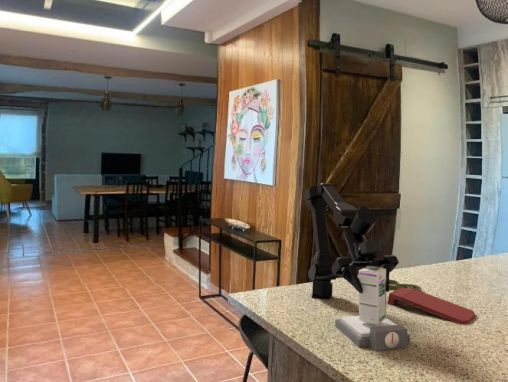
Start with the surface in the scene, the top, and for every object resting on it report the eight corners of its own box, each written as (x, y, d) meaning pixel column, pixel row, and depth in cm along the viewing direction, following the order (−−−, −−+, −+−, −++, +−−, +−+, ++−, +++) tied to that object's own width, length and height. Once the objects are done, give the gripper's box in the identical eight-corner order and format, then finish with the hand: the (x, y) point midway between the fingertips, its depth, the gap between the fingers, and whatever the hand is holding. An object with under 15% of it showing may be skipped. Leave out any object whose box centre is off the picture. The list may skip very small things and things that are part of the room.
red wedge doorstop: (474, 326, 136) (399, 297, 152) (477, 312, 135) (401, 284, 151) (462, 337, 127) (384, 305, 143) (466, 322, 126) (387, 291, 142)
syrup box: (378, 325, 114) (379, 272, 113) (358, 320, 118) (358, 269, 117) (386, 318, 119) (387, 268, 117) (366, 314, 122) (366, 264, 121)
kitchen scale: (335, 326, 123) (335, 309, 123) (381, 322, 127) (382, 306, 127) (365, 353, 106) (366, 333, 106) (417, 347, 110) (418, 328, 110)
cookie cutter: (368, 289, 161) (368, 284, 161) (378, 282, 171) (378, 277, 171) (417, 298, 151) (417, 293, 151) (425, 290, 161) (425, 285, 161)
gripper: (337, 228, 118) (354, 279, 108) (397, 227, 122) (418, 275, 113) (324, 250, 126) (339, 299, 116) (380, 248, 131) (400, 295, 121)
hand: (375, 292), depth 116 cm, fingers closed on syrup box, 8 cm apart
